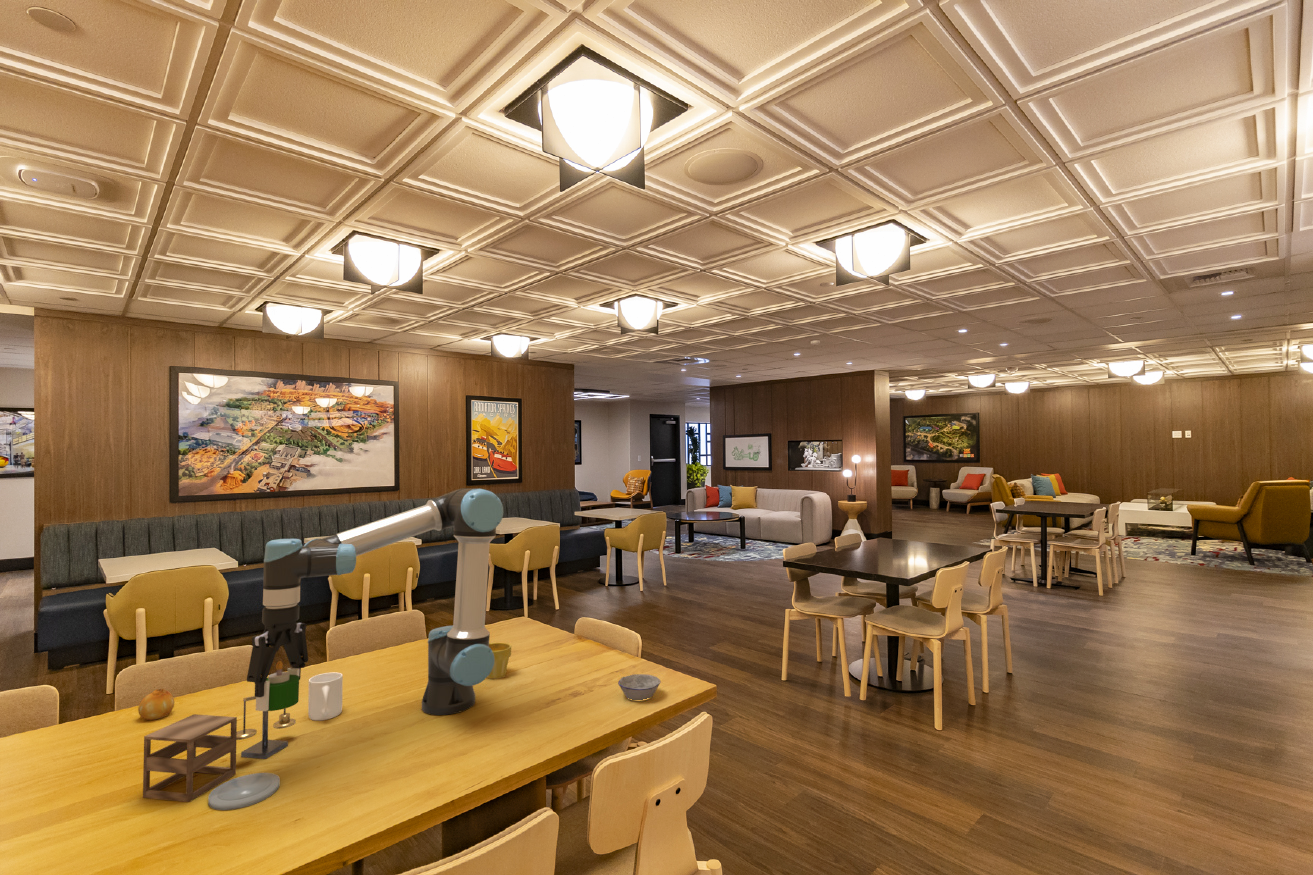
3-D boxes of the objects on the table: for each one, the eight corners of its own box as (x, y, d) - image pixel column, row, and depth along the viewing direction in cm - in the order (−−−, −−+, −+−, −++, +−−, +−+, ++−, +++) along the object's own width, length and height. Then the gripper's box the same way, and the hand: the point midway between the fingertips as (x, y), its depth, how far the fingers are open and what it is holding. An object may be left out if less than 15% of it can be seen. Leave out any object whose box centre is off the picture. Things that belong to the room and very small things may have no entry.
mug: (307, 728, 167) (307, 688, 167) (308, 712, 177) (309, 675, 178) (342, 721, 171) (343, 682, 171) (341, 706, 182) (342, 670, 182)
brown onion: (178, 709, 175) (173, 682, 178) (141, 720, 169) (137, 692, 172) (175, 717, 180) (170, 690, 182) (139, 728, 174) (135, 701, 177)
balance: (303, 736, 162) (303, 676, 162) (247, 769, 144) (248, 702, 145) (280, 734, 163) (280, 675, 164) (222, 767, 145) (223, 701, 146)
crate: (235, 774, 142) (236, 717, 143) (189, 801, 131) (190, 739, 131) (192, 770, 144) (193, 714, 145) (142, 797, 133) (144, 736, 133)
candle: (267, 713, 138) (269, 668, 138) (250, 705, 142) (252, 662, 143) (305, 702, 145) (306, 659, 145) (287, 695, 149) (289, 653, 150)
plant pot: (517, 673, 208) (517, 644, 209) (494, 683, 200) (494, 652, 200) (496, 668, 214) (496, 640, 214) (473, 677, 205) (473, 648, 206)
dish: (293, 780, 139) (293, 774, 139) (246, 812, 126) (246, 806, 126) (243, 775, 141) (244, 770, 142) (192, 807, 129) (192, 800, 129)
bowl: (614, 703, 182) (614, 687, 182) (623, 687, 194) (623, 672, 195) (657, 705, 180) (656, 688, 180) (663, 689, 192) (663, 674, 193)
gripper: (301, 595, 156) (298, 685, 154) (228, 614, 135) (224, 719, 134) (327, 596, 154) (324, 688, 153) (257, 616, 134) (253, 722, 132)
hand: (277, 702), depth 143 cm, fingers closed on candle, 8 cm apart
